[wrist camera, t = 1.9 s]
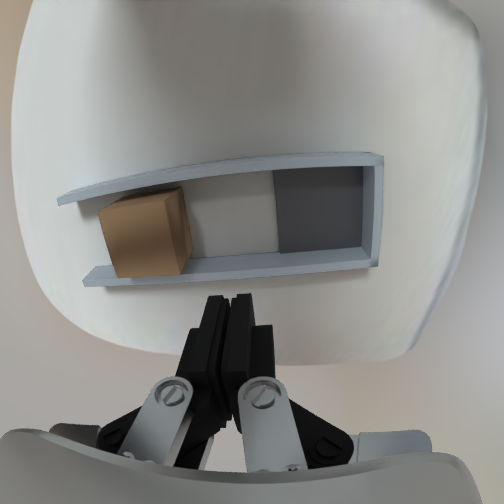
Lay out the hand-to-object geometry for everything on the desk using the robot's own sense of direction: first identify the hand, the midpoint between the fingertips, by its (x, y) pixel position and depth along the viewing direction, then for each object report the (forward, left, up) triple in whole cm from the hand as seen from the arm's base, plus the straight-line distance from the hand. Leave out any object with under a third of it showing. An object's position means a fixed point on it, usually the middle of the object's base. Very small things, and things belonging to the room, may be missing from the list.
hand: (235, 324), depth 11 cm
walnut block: (0, -9, -15) cm, 17 cm away
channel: (0, -3, -14) cm, 15 cm away
